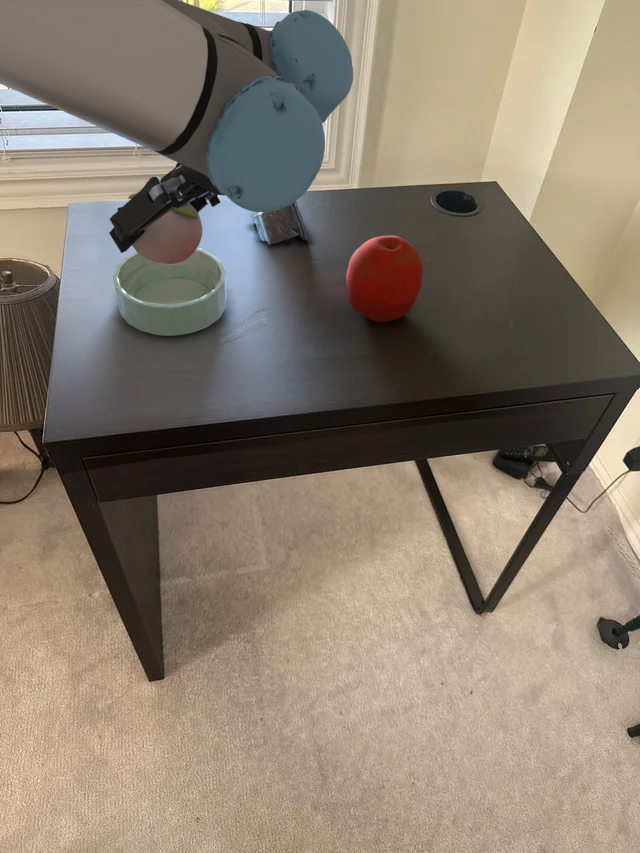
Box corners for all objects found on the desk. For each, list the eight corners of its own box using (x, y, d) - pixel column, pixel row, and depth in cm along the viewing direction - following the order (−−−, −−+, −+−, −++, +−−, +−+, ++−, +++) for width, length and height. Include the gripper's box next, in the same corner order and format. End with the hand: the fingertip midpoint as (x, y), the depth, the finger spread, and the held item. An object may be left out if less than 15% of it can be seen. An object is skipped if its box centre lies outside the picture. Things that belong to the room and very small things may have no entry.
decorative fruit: (120, 276, 80) (104, 201, 73) (145, 242, 85) (134, 169, 78) (192, 289, 79) (184, 215, 72) (213, 254, 84) (208, 181, 77)
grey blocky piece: (246, 211, 106) (241, 189, 94) (286, 196, 106) (286, 172, 94) (267, 266, 107) (265, 251, 95) (307, 251, 107) (310, 234, 95)
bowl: (127, 347, 81) (121, 315, 77) (113, 282, 90) (107, 251, 86) (237, 329, 84) (236, 298, 81) (214, 269, 93) (212, 239, 90)
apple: (377, 281, 94) (388, 208, 86) (430, 314, 89) (447, 241, 81) (328, 308, 89) (335, 233, 80) (381, 344, 84) (395, 269, 76)
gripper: (166, 217, 58) (93, 289, 76) (323, 147, 69) (227, 224, 87) (119, 138, 56) (56, 231, 74) (289, 80, 67) (198, 173, 86)
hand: (149, 227), depth 81 cm, fingers closed on decorative fruit, 9 cm apart
